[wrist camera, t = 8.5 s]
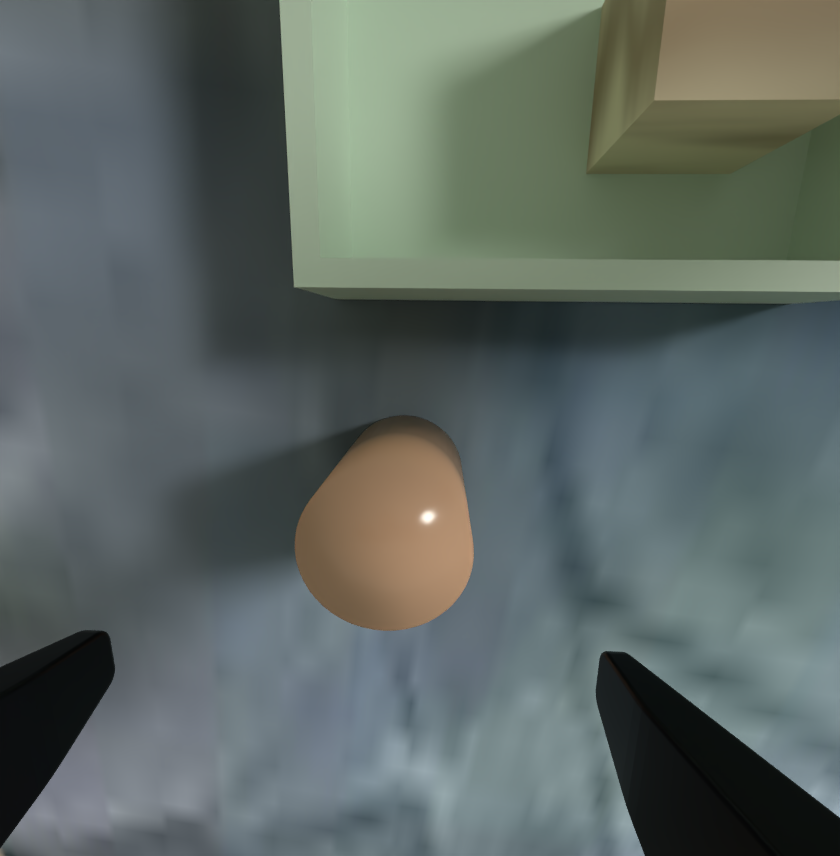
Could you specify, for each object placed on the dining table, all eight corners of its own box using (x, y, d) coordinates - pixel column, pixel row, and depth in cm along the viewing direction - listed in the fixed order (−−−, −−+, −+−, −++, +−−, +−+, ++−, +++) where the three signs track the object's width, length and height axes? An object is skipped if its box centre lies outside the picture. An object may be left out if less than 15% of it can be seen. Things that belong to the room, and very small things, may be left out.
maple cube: (601, 6, 14) (686, -164, 9) (757, 4, 14) (928, -172, 9) (586, 173, 15) (654, 100, 10) (730, 173, 15) (868, 98, 10)
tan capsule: (463, 416, 18) (477, 469, 11) (459, 525, 19) (470, 634, 12) (346, 413, 18) (289, 464, 11) (349, 522, 19) (299, 626, 13)
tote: (880, -150, 13) (1134, -427, 8) (790, 303, 16) (937, 292, 11) (322, -130, 14) (260, -373, 9) (335, 299, 17) (293, 286, 12)
